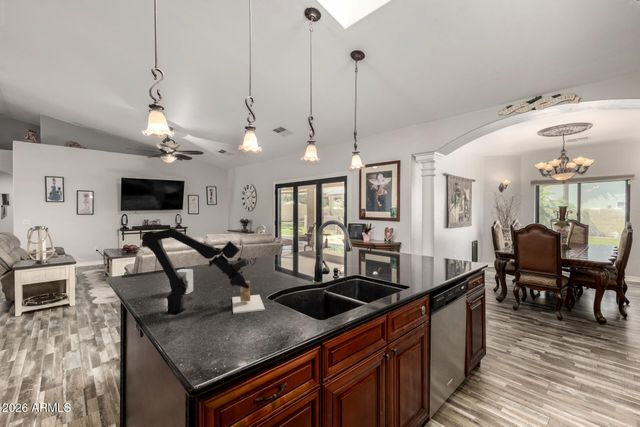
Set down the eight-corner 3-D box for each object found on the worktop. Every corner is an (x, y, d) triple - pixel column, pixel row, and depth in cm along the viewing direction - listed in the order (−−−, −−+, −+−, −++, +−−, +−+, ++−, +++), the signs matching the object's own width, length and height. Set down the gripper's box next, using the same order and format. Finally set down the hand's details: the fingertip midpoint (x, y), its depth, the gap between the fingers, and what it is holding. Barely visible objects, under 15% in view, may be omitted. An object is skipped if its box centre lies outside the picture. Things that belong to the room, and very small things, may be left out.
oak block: (240, 301, 134) (240, 283, 133) (240, 299, 138) (240, 281, 138) (250, 301, 135) (250, 282, 135) (249, 298, 139) (249, 280, 139)
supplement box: (193, 290, 158) (193, 269, 158) (186, 294, 151) (186, 271, 151) (181, 290, 159) (181, 268, 159) (173, 294, 152) (173, 271, 152)
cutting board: (233, 313, 124) (233, 312, 124) (232, 298, 145) (232, 297, 145) (264, 310, 129) (264, 308, 128) (259, 296, 149) (259, 294, 149)
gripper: (237, 256, 126) (262, 278, 130) (236, 250, 144) (258, 270, 147) (219, 274, 123) (244, 297, 127) (220, 266, 141) (242, 286, 145)
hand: (248, 286), depth 137 cm, fingers closed on oak block, 4 cm apart
